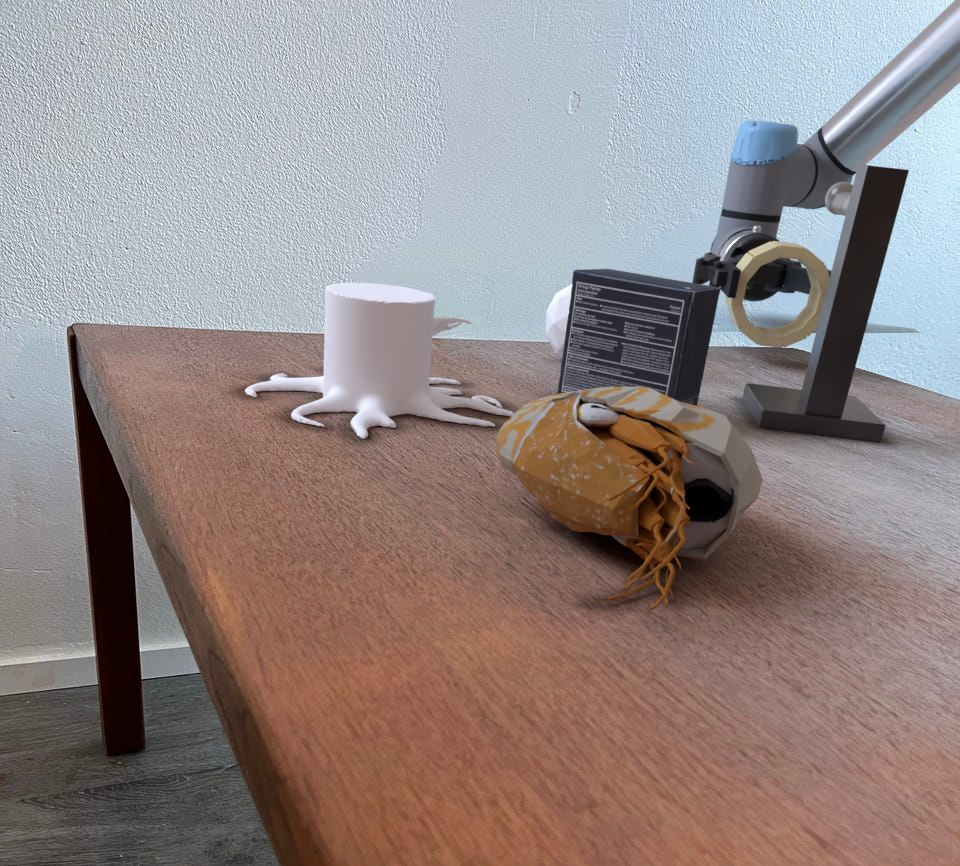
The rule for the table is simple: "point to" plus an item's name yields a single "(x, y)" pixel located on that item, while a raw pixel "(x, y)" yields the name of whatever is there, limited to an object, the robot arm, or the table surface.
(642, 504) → the nautilus
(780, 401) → the tape stand
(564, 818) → the table surface
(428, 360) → the tree stump
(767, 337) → the tape roll
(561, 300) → the geometric ball
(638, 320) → the small box
